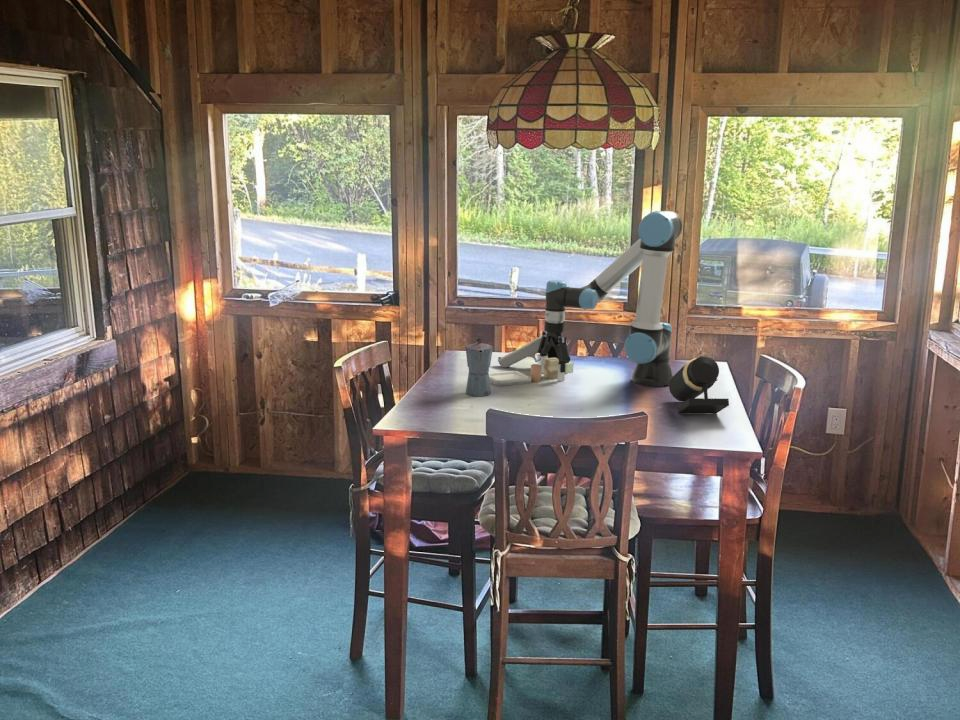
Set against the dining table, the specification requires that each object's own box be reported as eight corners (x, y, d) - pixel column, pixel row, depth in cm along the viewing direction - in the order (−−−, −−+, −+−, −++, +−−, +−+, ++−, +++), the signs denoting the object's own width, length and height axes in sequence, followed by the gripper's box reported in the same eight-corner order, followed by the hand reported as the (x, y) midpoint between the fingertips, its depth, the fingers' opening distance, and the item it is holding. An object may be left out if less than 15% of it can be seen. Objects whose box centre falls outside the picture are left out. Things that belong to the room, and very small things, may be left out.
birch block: (561, 378, 343) (562, 360, 341) (550, 379, 341) (550, 361, 339) (554, 375, 347) (555, 357, 346) (543, 376, 345) (544, 358, 344)
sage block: (573, 372, 352) (573, 362, 352) (566, 374, 350) (567, 364, 349) (565, 370, 355) (565, 360, 354) (558, 372, 352) (559, 362, 352)
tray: (531, 382, 335) (531, 377, 334) (497, 386, 329) (497, 381, 328) (516, 375, 345) (516, 370, 345) (483, 378, 339) (483, 373, 339)
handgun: (576, 360, 354) (558, 327, 351) (514, 391, 359) (496, 359, 356) (576, 358, 357) (558, 325, 355) (515, 389, 363) (497, 356, 360)
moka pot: (467, 399, 311) (468, 342, 306) (461, 387, 325) (462, 333, 321) (494, 398, 312) (496, 342, 308) (487, 387, 327) (488, 333, 322)
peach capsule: (542, 381, 337) (543, 366, 335) (533, 382, 335) (534, 367, 334) (537, 379, 340) (538, 363, 339) (528, 380, 339) (529, 364, 337)
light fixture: (700, 372, 317) (724, 352, 292) (704, 421, 312) (729, 405, 288) (664, 371, 316) (685, 352, 291) (667, 421, 312) (689, 405, 287)
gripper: (530, 316, 348) (528, 370, 353) (562, 327, 327) (560, 384, 332) (547, 315, 352) (544, 368, 356) (580, 326, 330) (577, 383, 335)
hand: (552, 376), depth 344 cm, fingers open, 12 cm apart
